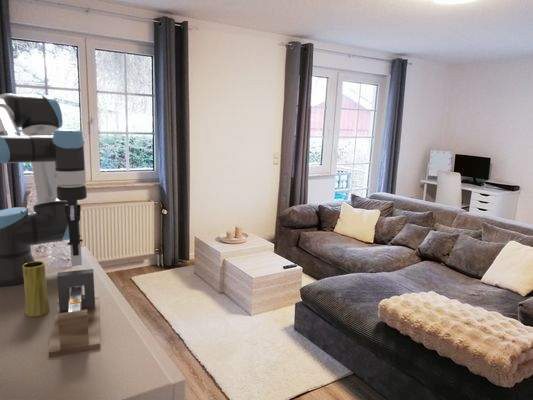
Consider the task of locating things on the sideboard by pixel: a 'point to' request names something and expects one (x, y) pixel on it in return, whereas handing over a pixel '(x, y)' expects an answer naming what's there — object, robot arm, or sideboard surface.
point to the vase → (35, 289)
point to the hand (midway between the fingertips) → (76, 264)
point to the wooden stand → (75, 330)
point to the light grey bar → (75, 299)
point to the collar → (74, 280)
